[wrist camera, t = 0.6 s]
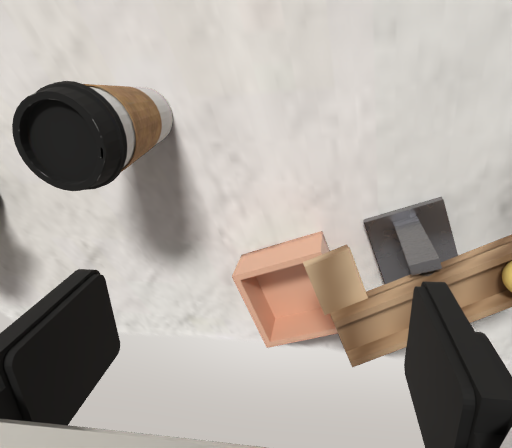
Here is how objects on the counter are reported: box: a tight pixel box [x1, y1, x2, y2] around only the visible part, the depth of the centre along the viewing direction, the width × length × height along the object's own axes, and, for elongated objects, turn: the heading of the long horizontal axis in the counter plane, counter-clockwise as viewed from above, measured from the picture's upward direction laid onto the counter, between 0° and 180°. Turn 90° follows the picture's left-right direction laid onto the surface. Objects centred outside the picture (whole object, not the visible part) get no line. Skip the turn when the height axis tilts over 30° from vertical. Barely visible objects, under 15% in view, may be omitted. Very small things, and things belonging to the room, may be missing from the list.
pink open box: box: [232, 231, 338, 348], centre depth 43 cm, size 10×10×5 cm
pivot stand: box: [364, 197, 458, 284], centre depth 37 cm, size 8×10×10 cm
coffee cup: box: [12, 81, 173, 191], centre depth 34 cm, size 8×8×15 cm
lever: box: [303, 235, 512, 367], centre depth 32 cm, size 18×10×3 cm, turn 113°
